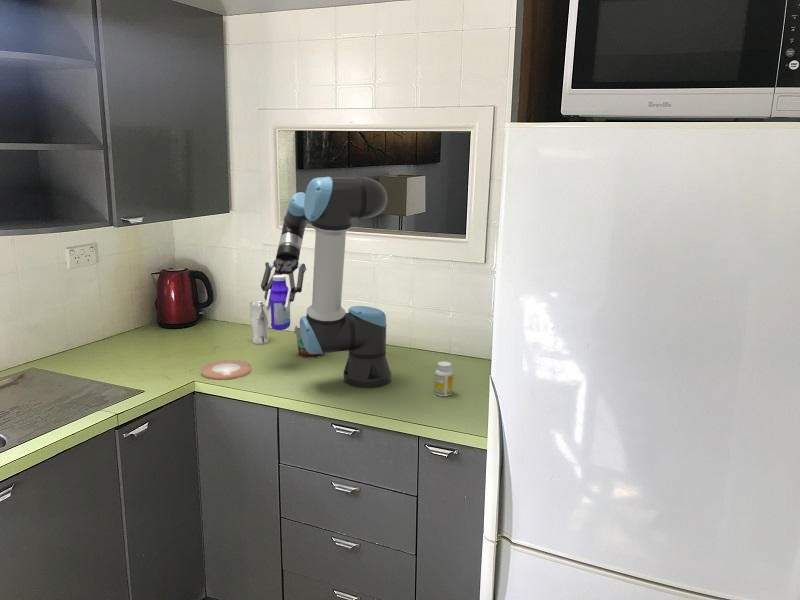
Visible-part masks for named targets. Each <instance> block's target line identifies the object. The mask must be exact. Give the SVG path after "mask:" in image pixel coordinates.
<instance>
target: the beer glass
mask: <svg viewBox="0 0 800 600" xmlns="http://www.w3.org/2000/svg"><path fill="white" fill-rule="evenodd" d="M265 304H266V300H254V301H251V302H250V303H249V319H250V325H251V330H252V339H251V343H252V342H253V343H252V344H254V343H255V345H264V344H263V343H265V344H268V343H269V342H268V341H269V336H268V327H269V323H270V322H269V321H270V319H269V318H270V310H269V311H267V310H266V307H265ZM267 342H268V343H267Z"/></svg>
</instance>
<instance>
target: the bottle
mask: <svg viewBox="0 0 800 600" xmlns="http://www.w3.org/2000/svg"><path fill="white" fill-rule="evenodd" d="M272 276H273V275H272ZM286 279H287V278H286V274H282V275H274V276H273V285H272V288H271V291H272V293H271V297H270V325H271V326H270V327H271V329H272V330H275V331H284V330H287V329H289V327H290V325H291V307H290V308H289V312H287V311H286V309H285V304H286V298H287V293H288V290H289V287H288V285H287V280H286Z"/></svg>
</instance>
